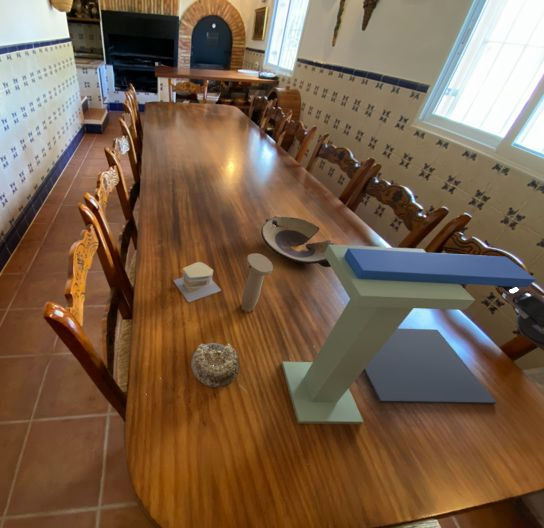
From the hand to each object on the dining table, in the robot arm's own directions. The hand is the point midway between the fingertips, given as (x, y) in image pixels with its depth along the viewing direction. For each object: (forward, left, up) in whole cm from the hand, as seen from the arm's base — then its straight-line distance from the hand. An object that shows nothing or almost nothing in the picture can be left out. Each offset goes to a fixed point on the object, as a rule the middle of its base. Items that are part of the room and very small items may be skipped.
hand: (518, 292), depth 41 cm
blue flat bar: (+14, +4, +3) cm, 15 cm away
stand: (+18, +5, -29) cm, 34 cm away
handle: (+34, -13, -29) cm, 47 cm away
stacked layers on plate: (+48, -17, -29) cm, 59 cm away
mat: (-3, -8, -29) cm, 30 cm away
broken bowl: (+21, -41, -29) cm, 55 cm away
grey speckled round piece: (+39, +5, -29) cm, 49 cm away
